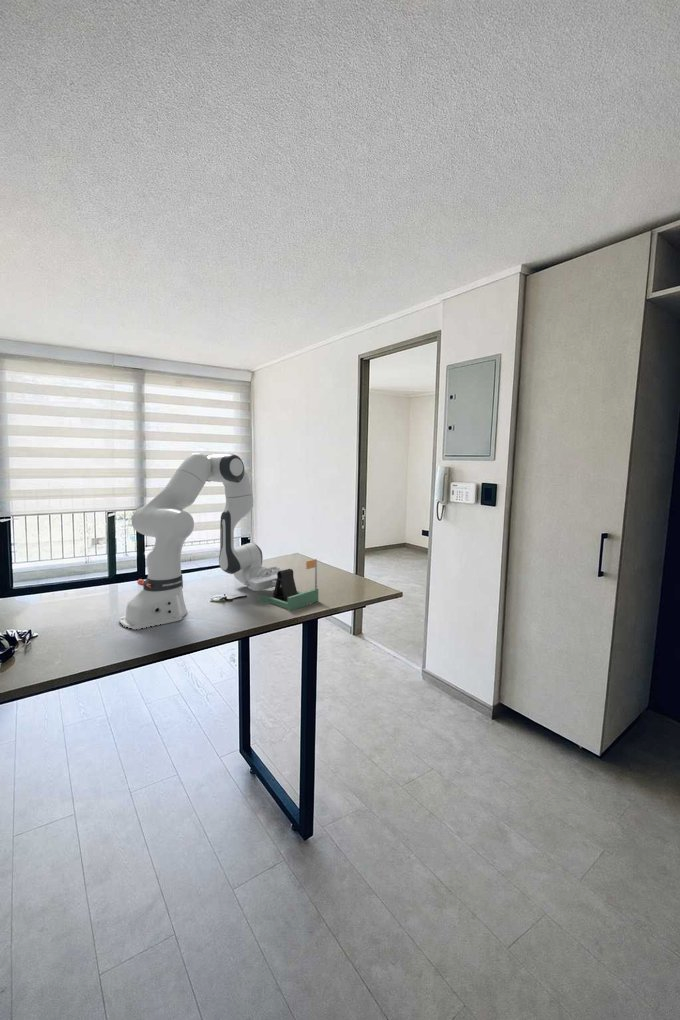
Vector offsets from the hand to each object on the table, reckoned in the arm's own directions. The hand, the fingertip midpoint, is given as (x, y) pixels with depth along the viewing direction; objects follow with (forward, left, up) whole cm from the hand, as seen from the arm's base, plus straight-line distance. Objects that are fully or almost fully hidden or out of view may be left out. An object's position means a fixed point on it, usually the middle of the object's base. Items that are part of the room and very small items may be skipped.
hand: (284, 584), depth 178 cm
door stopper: (0, -1, -6) cm, 6 cm away
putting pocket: (0, -3, -6) cm, 7 cm away
